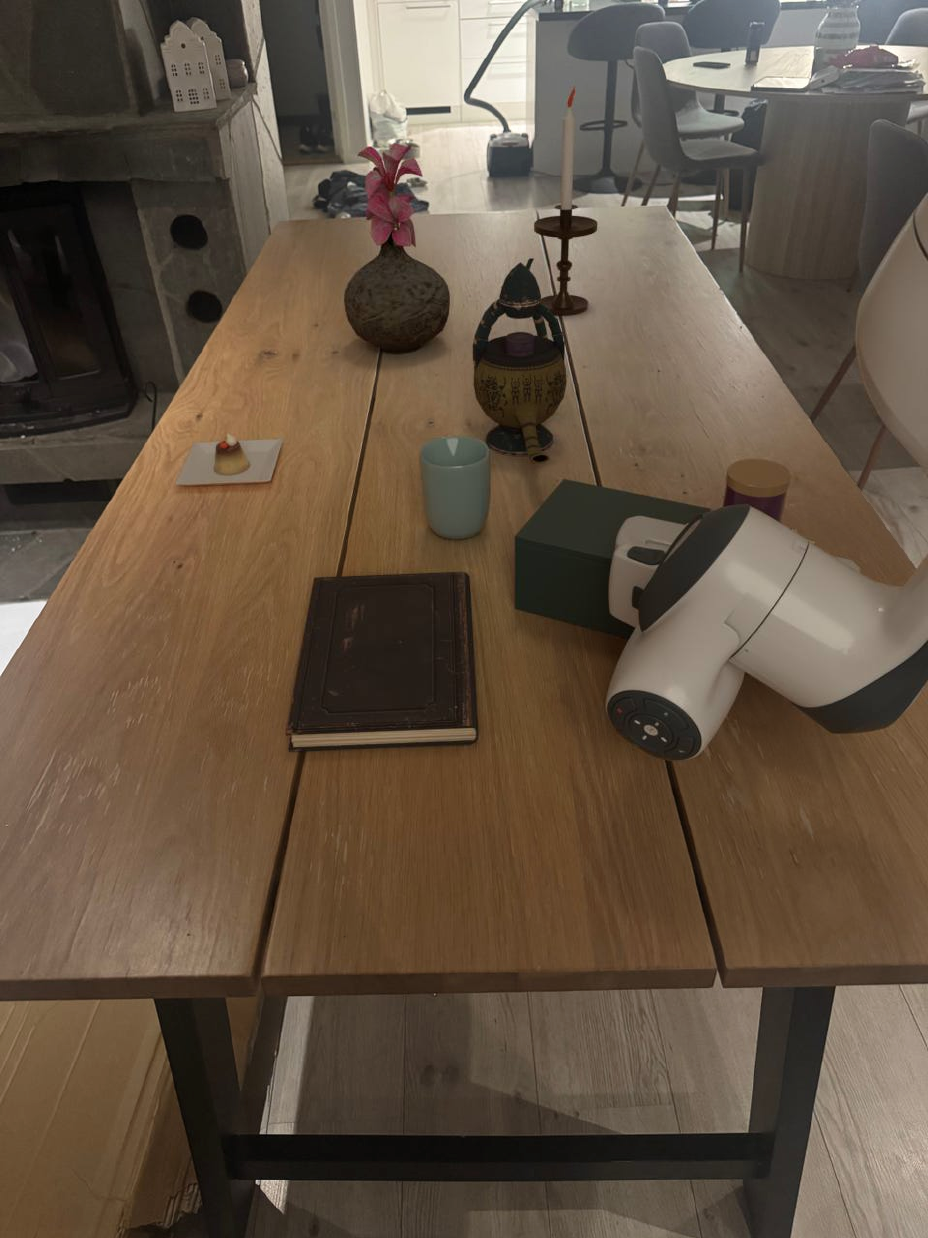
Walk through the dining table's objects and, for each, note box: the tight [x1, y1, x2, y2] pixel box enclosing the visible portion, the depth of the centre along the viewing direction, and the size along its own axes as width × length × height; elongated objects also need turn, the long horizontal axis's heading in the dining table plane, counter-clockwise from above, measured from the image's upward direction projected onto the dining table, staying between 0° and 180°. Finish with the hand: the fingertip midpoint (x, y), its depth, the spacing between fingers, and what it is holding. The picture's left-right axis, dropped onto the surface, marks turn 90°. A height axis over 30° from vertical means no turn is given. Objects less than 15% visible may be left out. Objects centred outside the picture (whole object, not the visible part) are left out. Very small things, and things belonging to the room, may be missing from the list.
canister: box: [722, 458, 792, 524], centre depth 84 cm, size 5×5×13 cm
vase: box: [343, 142, 451, 355], centre depth 146 cm, size 17×18×30 cm
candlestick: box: [533, 85, 598, 317], centre depth 157 cm, size 11×11×35 cm
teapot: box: [472, 257, 567, 465], centre depth 114 cm, size 12×25×23 cm, turn 6°
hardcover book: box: [284, 571, 479, 753], centre depth 87 cm, size 16×23×2 cm
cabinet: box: [514, 478, 712, 640], centre depth 92 cm, size 16×13×9 cm
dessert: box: [174, 433, 284, 487], centre depth 119 cm, size 12×12×5 cm
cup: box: [418, 435, 492, 540], centre depth 103 cm, size 8×8×10 cm
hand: (750, 527), depth 85 cm, fingers closed on canister, 5 cm apart
